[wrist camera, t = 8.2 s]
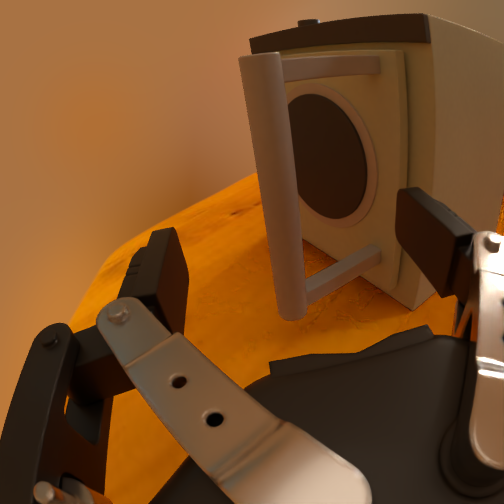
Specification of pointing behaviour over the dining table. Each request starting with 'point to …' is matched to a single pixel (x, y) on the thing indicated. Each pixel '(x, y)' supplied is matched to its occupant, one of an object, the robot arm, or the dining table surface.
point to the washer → (429, 113)
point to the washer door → (328, 164)
